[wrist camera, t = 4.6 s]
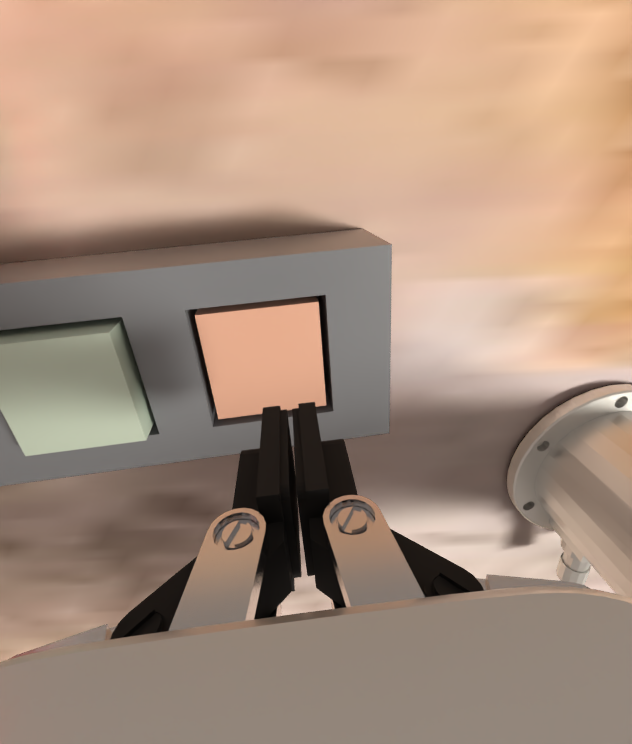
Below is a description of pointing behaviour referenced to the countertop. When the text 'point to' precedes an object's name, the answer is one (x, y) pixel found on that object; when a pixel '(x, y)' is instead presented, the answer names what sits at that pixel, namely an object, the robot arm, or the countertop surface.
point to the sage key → (72, 386)
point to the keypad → (183, 346)
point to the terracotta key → (263, 355)
